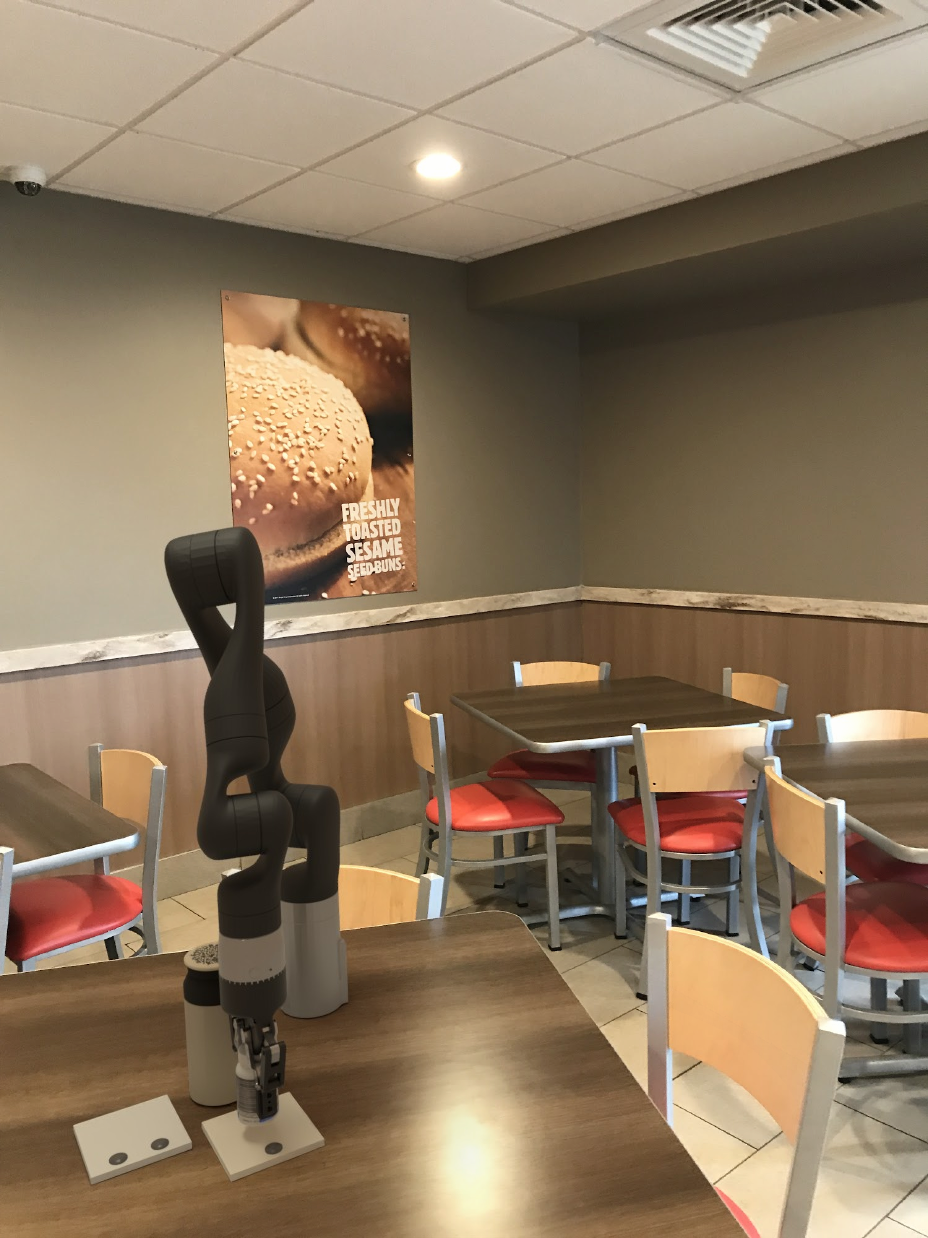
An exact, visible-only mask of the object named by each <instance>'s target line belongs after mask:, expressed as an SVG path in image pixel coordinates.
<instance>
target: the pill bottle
mask: <svg viewBox="0 0 928 1238" xmlns="http://www.w3.org/2000/svg"><path fill="white" fill-rule="evenodd" d="M254 1059H255V1060H257V1059H261V1057H260V1055H254ZM238 1061H239V1063H238V1064H237V1066H236V1091H237V1101H236V1104H237V1105H236V1110H237V1112H238V1119H239V1121H240V1122H241V1123H242V1124H244V1125H246V1126H252V1127H256V1126H262V1125H266V1124H268V1123H270V1122H271V1121H273V1120H274V1119H275V1118H276V1117H277V1115H278V1113H279V1099H278V1095H279V1088H276V1093H277V1113H276V1114H275V1115H274V1116H272V1117H269V1118H266V1119H263V1120H261V1119H259V1117H258V1116H257V1109H256V1089H255V1081H254V1074H253V1069H251V1068H249V1067H248V1064H247V1057H246V1050H245V1045H244V1043H243V1044H241V1045H240V1047H239V1048H238ZM260 1071H261V1068H260Z"/></svg>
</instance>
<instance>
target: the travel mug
mask: <svg viewBox="0 0 928 1238" xmlns="http://www.w3.org/2000/svg"><path fill="white" fill-rule="evenodd" d="M183 963H184V965H185V966H186V968H187V973H186V975H185V977H184V979H183V982H182V987H183V1005H184V1021H185V1024H184V1025H185V1036H186V1037H185V1039H186V1054H187V1055H186V1056H187V1057H186V1058H187V1071H188V1073H187V1074H188V1075H187V1076H188V1086H189V1087H188V1089H189V1091H188V1092H189V1097H190V1098H191V1100H192V1101H194V1102H195V1103H197V1104H199V1105H204V1106H208V1107H209V1106H210V1107H211V1106H212V1107H213V1106H219V1107H220V1106H225V1105H228V1104H231V1103H234V1102H237V1091H236V1066H237V1064H238V1061H237V1052H234V1051H233V1049H232V1039H231V1031H230V1023H229V1015H228V1014H227V1013H225V1012H224V1011H223V1009H222V1007H221V1003H220V985H219V965H218V941H212V942H211V941H210V942H207V943H203V944H199V945H197V946H195V947H193V948H192V949H190V950H189V951H188V952H186V954H185V955H184V957H183Z"/></svg>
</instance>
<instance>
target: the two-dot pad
mask: <svg viewBox="0 0 928 1238" xmlns="http://www.w3.org/2000/svg"><path fill="white" fill-rule="evenodd" d="M180 1118H181V1117H179V1115H178V1112H177V1111H176V1109H175V1107H174V1105H173V1103H172V1102H171V1099H170V1097H169V1095H168V1094H164V1095H161V1096H158V1097H155V1098H152V1099H149V1100H146V1101H143V1102H140V1103H137V1104H133V1105H131V1106H130V1105H129V1106H128V1107H125V1108H121V1109H117V1110H115V1111H113V1112H112V1111H111V1112H110V1113H105V1114H103V1115H100V1116H97V1117H93V1118H91V1119H87V1120H85V1121H82V1122H79V1123H76V1124H74V1125H72V1129H73V1134H74V1136H75V1140H76V1143H77V1146H78V1148H79V1151H80V1152H79V1153H80V1154H81V1158H82V1160H83V1164H84V1166H85V1169H86V1173H87V1175H88V1178H89V1183H90V1184H91V1185H92V1186H93V1185H96V1184H98V1183H100V1182H104V1181H106V1180H108V1179H112V1178H115V1177H118V1176H119V1175H123V1174H125V1173H129V1172H131V1171H134V1170H136V1169H139V1168H142V1167H145V1166H148V1165H150V1164H153V1163H156V1162H159V1161H162V1160H164V1159H167V1158H170V1157H172V1156H175V1155H178V1154H181V1153H183V1152H186V1151H190V1150H191V1149H193V1142H192V1140H191V1137H190V1135H189V1134H188V1132H187V1130H186V1128H185V1126H184V1124H183V1122H182V1120H181V1119H180Z"/></svg>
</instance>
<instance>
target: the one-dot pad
mask: <svg viewBox="0 0 928 1238" xmlns="http://www.w3.org/2000/svg"><path fill="white" fill-rule="evenodd" d="M278 1099H279V1113H278V1115H277V1117H276V1118H275V1119H274V1120H273V1121H271V1122H270V1123H268V1124H266V1125H262V1126H256V1127H252V1126H246V1125H244V1124H242V1123H241V1122H240V1121H239V1119H238V1112H237V1109H235V1110H234V1111H233V1110H232V1111H230V1112H227V1113H224V1114H222V1115H219V1116H215V1117H212V1118H209V1119H207V1120H204V1121H202V1122H201V1130H202V1132H203V1133H204V1135H205V1137H206V1139H207V1140H208V1142H209V1144H210V1147H212V1150H213V1152H214V1153H215V1155H216V1157H217V1158H218V1160H219V1162H220V1165H221V1166H222V1168H223V1170H224V1171H225V1173H226V1175H227V1177H228V1180H230V1182H231V1183H232V1182H234V1181H237V1180H239V1179H242V1178H244V1177H248V1176H249V1175H252V1174H255V1173H258V1172H260V1171H263V1170H265V1169H268V1168H270V1167H274V1166H276V1165H279V1164H280V1163H281V1164H282V1163H283V1162H286V1161H288V1160H291V1159H293V1158H296V1157H299V1156H301V1155H304V1154H306V1153H309V1152H312V1151H315V1150H317V1149H320V1148H322V1147H324V1146H325V1138H324V1137H323V1135H322V1134H321V1133H320V1131H319V1130H318V1128H317V1127H316V1125H315V1124H314V1123H313V1122H312V1120H311V1119H310V1117H309V1116H308V1115H307V1113H306V1112H305V1111H304V1110H303V1108H302V1107H301V1106H300V1105H299V1103H298V1102H297V1100H296V1099H295V1098H294V1096H293V1095H292V1093H291V1092H290V1091H287V1092H284V1093H281V1094H278Z"/></svg>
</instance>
